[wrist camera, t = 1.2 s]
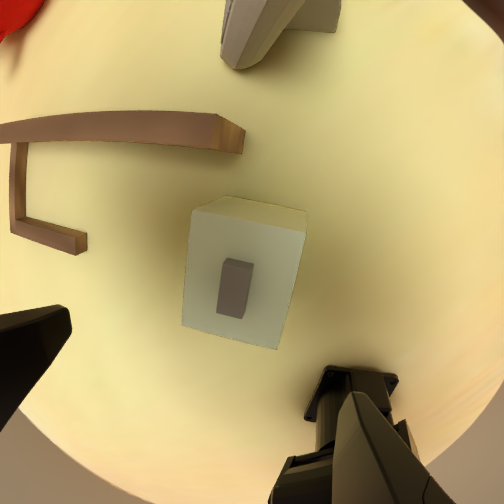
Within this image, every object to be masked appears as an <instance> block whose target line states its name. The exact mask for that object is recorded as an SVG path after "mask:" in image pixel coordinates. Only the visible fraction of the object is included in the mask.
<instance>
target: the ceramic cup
mask: <svg viewBox="0 0 504 504" xmlns="http://www.w3.org/2000/svg"><path fill="white" fill-rule="evenodd" d="M43 2H44V0H0V43H1V42H2V40H3V38H4V37H6V36H7V35H9V34H11V33H13V32H14V31H16V30H18V29H21V28H22V27H24V26H25V25H26V24H27V23H28V22H29V21H30V20H31V19H32V18H33V17H34V15H35V14H36V13H37V11H38V10H39V9H40V7H41V5H42V4H43Z"/></svg>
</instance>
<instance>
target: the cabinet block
mask: <svg viewBox="0 0 504 504" xmlns="http://www.w3.org/2000/svg"><path fill="white" fill-rule="evenodd" d="M305 237H306V211H302V210H297V209H292V208H288V207H283V206H278V205H273V204H268V203H263V202H258V201H253V200H248V199H242V198H237V197H232V196H225V197H222V198H220V199H217V200H215V201H212V202H210V203H207V204H205V205H202V206H200V207H198V208H195V209H193V210H192V213H191V221H190V230H189V240H188V249H187V260H186V271H185V283H184V296H183V311H182V326H186V327H189V328H192V329H196V330H199V331H203V332H207V333H210V334H214V335H217V336H221V337H225V338H229V339H233V340H237V341H241V342H245V343H249V344H253V345H257V346H261V347H266V348H270V349H275V350H277V348H278V345H279V341H280V337H281V334H282V330H283V326H284V323H285V319H286V315H287V311H288V307H289V304H290V300H291V296H292V292H293V288H294V284H295V280H296V276H297V271H298V267H299V263H300V259H301V255H302V250H303V246H304V242H305Z"/></svg>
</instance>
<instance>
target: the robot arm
mask: <svg viewBox="0 0 504 504" xmlns="http://www.w3.org/2000/svg"><path fill="white" fill-rule="evenodd" d="M71 333H72V325H71V319H70V313H69V310H68V309H67V308H66V307H64V306H62V305H59V304H58V305H52V306H46V307H41V308H35V309H30V310H24V311H19V312H13V313H7V314H2V315H0V432H1V431H2V429H3V427H4V426H5V425H6V423H7V422H8V420H9V419H10V418H11V416H12V415H13V414H14V412H15V411H16V409H17V408H18V407H19V405H20V404H21V403H22V401H23V400H24V399H25V397H26V396H27V395H28V393H29V392H30V391H31V389H32V388H33V387H34V386H35V384H36V383H37V382H38V380H39V379H40V378H41V377H42V375H43V374H44V373H45V372H46V370H47V369H48V368H49V366H50V365H51V364H52V362H53V361H54V359H55V358H56V356H57V355H58V353H59V352H60V350H61V349H62V347H63V346H64V344H65V343H66V341H67V340H68V338H69V337H70V335H71ZM328 372H332V373H328ZM392 380H394V381H392ZM398 382H399V380H398V377H397V376H396V375H392V374H383V373H375V372H368V371H360V370H353V369H346V368H339V367H333V366H329V367H326V368H325V369H324V371H323V373H322V376H321V378H320V380H319V383H318V385H317V387H316V389H315V392H314V394H313V396H312V398H311V401H310V403H309V405H308V407H307V409H306V411H305V413H304V420H306V421H310V422H316V447H315V452H313V453H309V454H305V455H301V456H291V457H288V458H287V460H286V462H285V464H284V467H283V469H282V471H281V473H280V475H279V477H278V479H277V481H276V483H275V485H274V487H273V489H272V491H271V494H270V496H269V499H268V504H456V503H455V502H454V501H453V500H452V499H451V498H450V497H449V496H448V495H447V494H446V493H445V492H444V490H443V489H442V488H441V487H440V486H439V484H438V483H437V482H436V481H435V480H434V478H433V477H432V476H430V473H429V472H428V471H427V470H426V469H425V467H424V466H423V465H422V463H421V462H420V458H419V455H418V451H417V447H416V444H415V442H414V439H413V437H412V434H411V432H410V429H409V427H408V424H407V422H406V419H404V420H402V421H400V422H398V424H396V425H394V422H393V418H392V414H391V411H392V407H391V403H390V399H389V397H390V395H391V394H392V392H393V391H394V389H395V387H396V386H397V384H398Z"/></svg>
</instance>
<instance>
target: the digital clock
mask: <svg viewBox="0 0 504 504" xmlns="http://www.w3.org/2000/svg"><path fill="white" fill-rule="evenodd" d="M340 10H341V0H226V5H225V12H224V20H223V28H222V36H221V53H220V57H221V58H222V59H223V60H224V61H225V62H226V63H227V64H228V65H229V66H231V67H232V68H233V69H245V68H249V67H251V66H253V65H255V64H256V63H258V62H260V61H261V60H262V58H263V57H264V56H265V54H266V53H267V52H268V50H269V49H270V47H271V46H272V45H273V43H274V42H275V40H276V39H277V38H278V36H279V35H280V34H281V32H282V31H283V30H284V29H292V30H307V31H319V32H328V33H334V32H336V29H337V24H338V19H339V15H340Z"/></svg>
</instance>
